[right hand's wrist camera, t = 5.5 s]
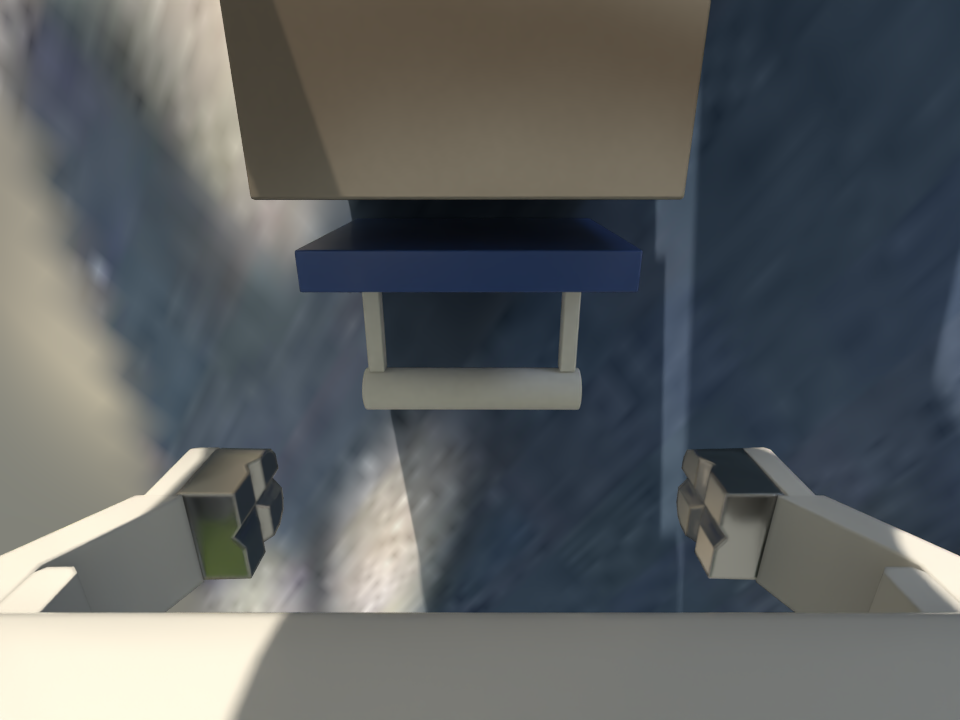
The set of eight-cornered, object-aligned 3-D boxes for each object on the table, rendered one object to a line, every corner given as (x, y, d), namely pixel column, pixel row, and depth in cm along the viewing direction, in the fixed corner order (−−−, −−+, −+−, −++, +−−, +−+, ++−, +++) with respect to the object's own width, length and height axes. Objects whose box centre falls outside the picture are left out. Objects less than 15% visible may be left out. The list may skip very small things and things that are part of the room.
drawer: (578, 370, 24) (619, 462, 17) (369, 370, 24) (321, 461, 17) (638, -418, 15) (780, -940, 8) (301, -415, 15) (136, -934, 8)
